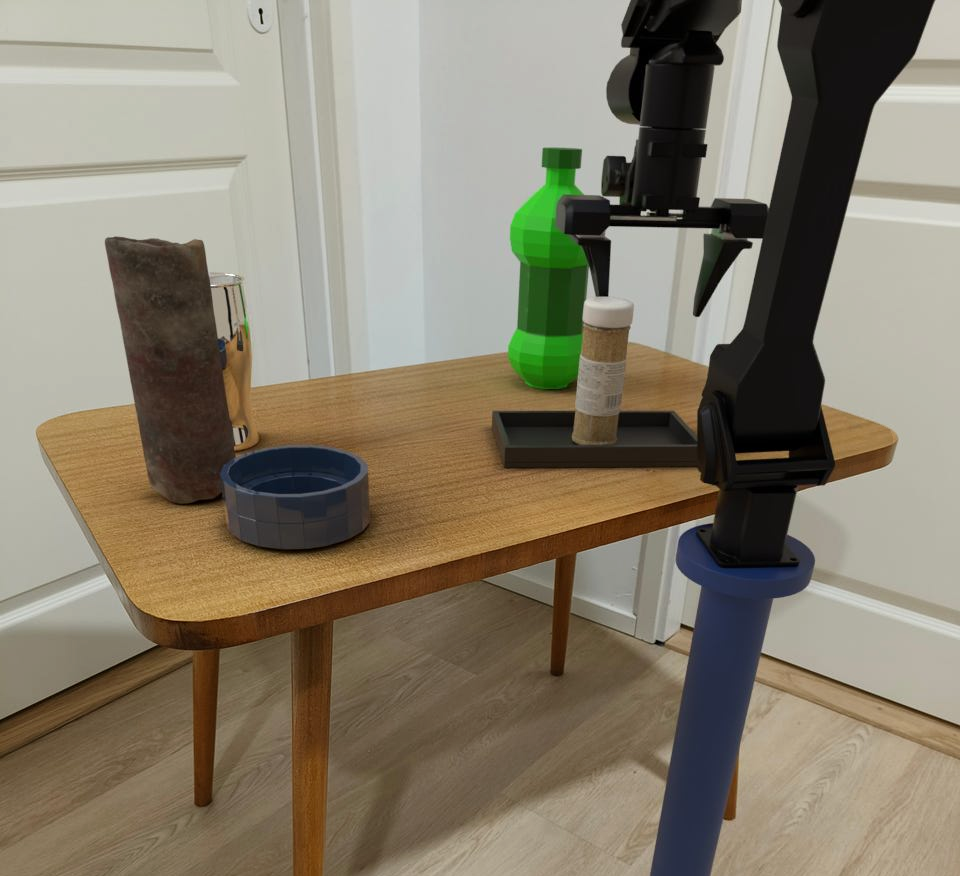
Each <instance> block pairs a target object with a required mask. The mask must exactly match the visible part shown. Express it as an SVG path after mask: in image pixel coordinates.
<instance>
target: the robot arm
mask: <svg viewBox="0 0 960 876" xmlns="http://www.w3.org/2000/svg"><path fill="white" fill-rule="evenodd" d="M935 2H936V0H778V3H779V4H780V7H781V10H780V19H779V27H778V35H777V42H776V44H777V45H776V47H777V51H778V56H779V58H780V61H781V65H782V69H783V71H784V75H785V77H786V81H787V86H788V89H789V92H790V96H791V101H790V108H789V112H788V117H787V123H786V127H785V132H784V137H783V140H782V141H783V142H782V144H781V145H782V146H781V149H780V153H779V154H780V156H779V159H778V164H777V169H776V173H775V178H774V183H773V188H772V192H771V197H770V202H769V206H768V204H767V203H764V202H761V201H757V200H755V199H751V198H730V197H729V198H726V197H725V198H723V197H722V198H721V197H714V199H713V200H712V203H711V205H710V206H700V199H701V197H699V196H697V195H698V189H699V181H700V174H701V169H702V162H703V161H702V160H703V158H704V159H705V158H707V152H708V145H709V144H708V143H705V140H706V132H707V130H706V129H707V125H708V118H709V109H710V103H711V96H712V89H713V82H714V76H715V75H714V74H715V69H716V66H717V67H719V66H721V65H723V63H724V60H725V56H724V53H723V51H722V48H721V47H720V46H719V45H718V44H717V43H718V41H719V40H720V38H721V37H722V35H723V33H724V32H725V30H726V29H727V28H728V27H729V26H730V25H731V24H732V23H733V21H735V20H736V19H737V18H738V17H739V16H740V14H741V13H742V5H743V0H629V4H628V6H627V8H626V10H625V14H624V16H623V19H622V21H621V23H620V24H621V25H620V26H621V32H622V37H621V40H620V46H621V48H622V49H623V48H624V49H625V48H626V49H629V54H628V55H627V56H625V57H623V58H621V59H620V60H619V61H618V62H617V64H616V65H615V66H614V68H613V70H611V72H610V76H609V77H608V80H607V81H606V88H605V93H606V94H605V95H606V102H607V105H608V108H609V110H610V112H611V113H612V115H613V116H614V117H615V118H616V119H617V120H618V121H620V122H622V123H625V124H627V125H635V126H636V125H637V126H639V128H638V136H637V139H635V145H634V149H633V156H632V159H631V162H627V157H626V156H624V155H606V156H605V157H604V159H603V163H602V170H601V171H602V172H601V181H600V187H601V188H600V193H601V195H599V194H598V195H597V194H584V195H563V196H562V197H561V198H560V199H559V200H558V202H557V206H556V217H555V227H556V228H557V229H559V230H560V231H561V232H562V233H564V234H568V235H569V238H570V239H571V240H572V241H573V242H575V243H576V244H577V245H580V246H582V248H583V251H584V253H585V256H586V259H587V262H588V265H589V271H590V275H591V281H592V285H593V290H594V294H595V297H609V292H610V274H611V273H610V272H611V256H612V255H611V253H612V240H611V239H609V238H608V237H606V231H607V229H608V228H610V227H614V228H615V227H618V228H619V227H621V228H662V229H663V228H664V229H665V228H667V229H668V228H669V229H671V228H672V229H711V231H710V233H703V237H702V238H703V240H702V241H703V254H702V260H701V265H700V269H699V273H698V278H697V284H696V289H695V292H694V297H693V305H692V306H693V307H692V316H693V317H694V318H700V317H701V315H702V313H703V312H704V310H705V308H706V306H707V305H708V303H709V301H710V299H712V297H713V294H714V293H715V291H716V289H717V287H718V286H719V284H720V282H721V281H722V279H724V276H725V274H726V273H727V272H728V270H729V269H730V268H731V266H732V265H733V263H734V262H735V261H736V260H737V258H738V257H739V255H741V252H742V251H743V250H752V248H753V244H754V242H753V241H750V240H748V239H751V240H752V239H758V240H759V239H760V240H761V239H762V240H761V244H760V249H759V254H758V258H757V262H756V267H755V272H754V277H753V282H752V286H751V291H750V296H749V300H748V305H747V310H746V314H745V319H744V323H743V327H742V329H741V330H740V331H739V333H738V334H737V335H736V336H735V337H734V338H733V340H732V341H731V342H730V343H718V344H716V345H715V347H714V348H713V349H712V351H711V353H710V355H709V362H708V371H707V376H706V381H705V384H704V387H703V389H702V392H701V397H702V398H701V399H700V402H699V404H698V408H697V411H696V413H697V414H696V429H697V430H696V435H697V462H698V466H697V471H698V472H699V473H700V478H699V480H700V481H701V483H703V484H706V485H711V486H715V487H717V488H718V494H717V501H716V506H715V512H714V518H713V522H712V523H713V528H700V529H697V530H696V536H697V538H698V539H699V540H700V542H701V543H702V545H703V546H704V547H705V549H706V550H707V552H708V553H709V554H710V556H711V557H712V559H713V560H714V562H715V563H716V564H717V566H718V567H721V568H773V567H798V566H799V563H800V560H799V558H798V557H797V556H796V555H795V554H794V553H793V552H792V551H791V549H790V548H789V547H788V546H787V545H786V544H785V542H786V538H787V535H788V533H789V529H790V526H791V525H790V524H791V520H792V515H793V512H794V507H795V502H796V497H797V494H798V489H799V487H803V486H804V487H805V486H818V487H824V486H826V485H827V483H828V481H829V479H830V477H831V475H832V473H833V472H834V470H835V468H836V461H835V460H836V459H835V456H834V452H833V448H832V445H831V444H832V443H831V440H830V436H829V432H828V428H827V423H826V420H825V417H824V411H823V408H822V402H823V397H824V393H825V392H824V390H825V385H826V377H825V374H824V371H823V368H822V365H821V362H820V359H819V356H818V353H817V350H816V347H815V343H814V339H815V333H816V329H817V326H818V322H819V318H820V314H821V310H822V306H823V303H824V298H825V295H826V291H827V287H828V284H829V279H830V275H831V272H832V268H833V265H834V261H835V256H836V252H837V249H838V245H839V241H840V238H841V233H842V230H843V226H844V222H845V218H846V214H847V212H848V211H847V210H848V206H849V203H850V199H851V196H852V195H851V194H852V191H853V187H854V183H855V181H856V175H857V172H858V168H859V165H860V160H861V157H862V153H863V150H864V149H863V148H864V145H865V141H866V137H867V134H868V130H869V125H870V122H871V119H872V114H873V111H874V108H875V106H876V104H877V102H879V100H880V99H881V97H883V95H884V94H885V93H886V91H887V90H888V89H889V88H890V87H891V85H892V84H893V83H894V82H895V80H897V78H898V77H899V75H900V74H902V72H903V71H904V69H906V67H907V66H908V65H909V63H910V62H911V61H912V60H913V58H914V56H915V55H916V53H917V50H918V48H919V47H920V46H919V45H920V43H921V40H922V37H923V35H924V32H925V29H926V26H927V23H928V21H929V18H930V15H931V12H932V10H933V7H934V5H935ZM607 197H612V198H616V197H617V198H619V200H618V201H619V203H618V204H611V200H610V199H608V198H607ZM647 211H650V212H647ZM670 211H682V212H670ZM642 212H646V214H645V215H642ZM776 452H777V453H778V452H788V457H775V458H774V457H772V458H771V457H770V458H752V459H737V456H736V454H738V455H739V454H755V453H776Z"/></svg>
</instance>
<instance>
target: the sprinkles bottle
mask: <svg viewBox="0 0 960 876" xmlns="http://www.w3.org/2000/svg"><path fill="white" fill-rule="evenodd" d="M634 308H635V306H634V303H633V302H632V301H631V300H629V299H626V298H622V297H621V298H620V297H616V296H608V297H596V296H592V297H589V298H586V301H585V302H584V308H583V318H582V320H583V322H584V324H583V326H584V329H583V339H582V349H581V354H580V361H579V371H578V377H577V383H576V393H575V404H574V408H575V410H574V411H575V420H574V431H573V433H572V440H573V441H574V442H575V443H577V444H578V445H615V444H616V441H617V436H616V433H617V425H618V417H619V412H620V411H621V408H622V399H623V393H624V384H625V376H626V375H625V374H626V368H627V354H628V345H629V344H628V343H629V337H630V336H629V335H630V330H631V325H632V324H633V318H634V311H635V309H634Z"/></svg>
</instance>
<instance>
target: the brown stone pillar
mask: <svg viewBox="0 0 960 876" xmlns="http://www.w3.org/2000/svg"><path fill="white" fill-rule="evenodd" d="M104 247H105V251H106V257H107V262H108V268H109V273H110V279H111V282H112V288H113V293H114V294H113V295H114V299H115V300H114V301H115V306H116V310H117V315H118V319H119V324H120V330H121V336H122V341H123V347H124V352H125V357H126V363H127V368H128V374H129V380H130V386H131V390H132V391H131V392H132V396H133V403H134V407H135V412H136V418H137V424H138V429H139V430H138V431H139V435H140V441H141V447H142V453H143V457H144V458H143V459H144V462H145V467H146V471H147V472H146V473H147V477H148V481H149V485H150V486H151V489H152V490H154V491H155V492H157V493H158V494H159V495H161V496H163V497H164V498H166V499H167V500H168V501H169V502H172V503H175V504H180V505H181V504H182V505H183V504H192V503H195V502H197V501H202V500H210V499H215V498H217V497H218V496H219V495H220V494H222V488H221V480H220V473H221V470H222V468H223V466H224V465H225V464H226V463H228V462H229V461H230V460H232V459H233V458H235V457H236V451H235V449H234V443H233V436H232V430H231V423H230V417H229V410H228V404H227V398H226V391H225V384H224V378H223V371H222V364H221V357H220V350H219V343H218V335H217V328H216V321H215V316H214V309H213V300H212V292H211V285H210V279H209V274H208V272H209V269H208V262H207V255H206V247H205V243H204V241H203V240H202V239H197V238H194V239H192V240H190V241H188V242H185V243H179V242H171V241H169V240H165V239H160V238H154V237H153V238H146V239H136V238H129V237H124V236H116V235H115V236H110V237H106V238H105V239H104Z"/></svg>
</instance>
